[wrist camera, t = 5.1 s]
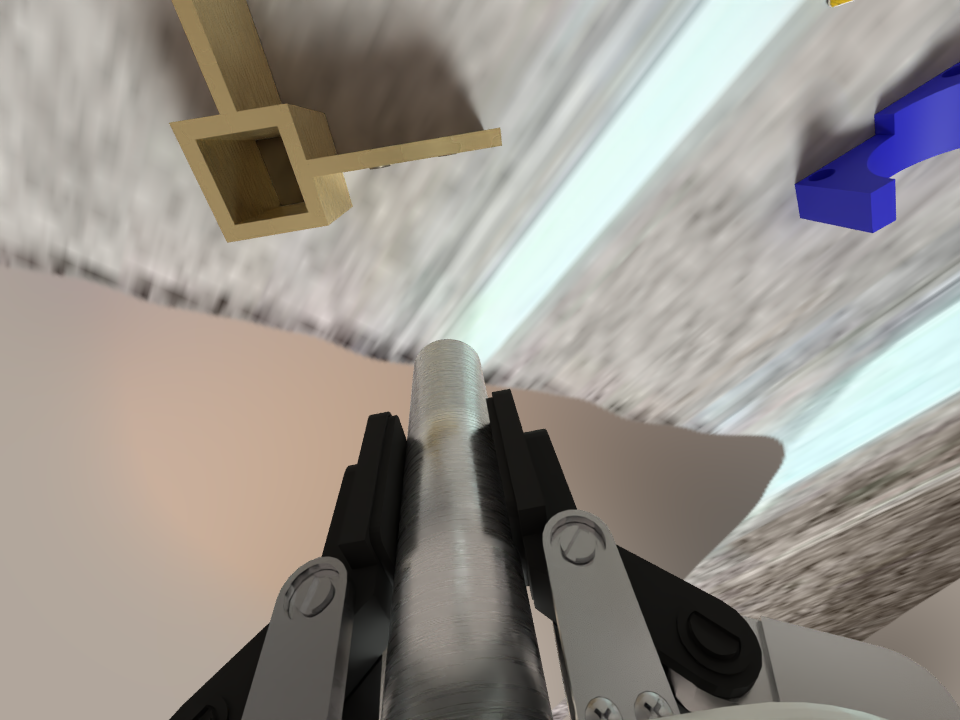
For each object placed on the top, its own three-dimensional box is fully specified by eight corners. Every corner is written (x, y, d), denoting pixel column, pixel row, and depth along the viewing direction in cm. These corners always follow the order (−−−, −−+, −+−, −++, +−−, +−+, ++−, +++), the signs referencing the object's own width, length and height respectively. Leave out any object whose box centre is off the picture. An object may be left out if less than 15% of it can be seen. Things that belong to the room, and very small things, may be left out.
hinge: (140, -108, 18) (-2, -229, 12) (451, -156, 19) (458, -298, 13) (274, 219, 26) (227, 242, 20) (490, 183, 27) (506, 194, 21)
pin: (393, 338, 14) (202, 1228, 2) (484, 321, 14) (700, 1126, 3) (415, 410, 15) (362, 1121, 4) (496, 395, 15) (655, 1060, 4)
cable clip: (962, 59, 26) (1092, 38, 21) (958, 123, 28) (1075, 118, 23) (790, 166, 28) (869, 171, 23) (798, 217, 31) (872, 233, 25)
